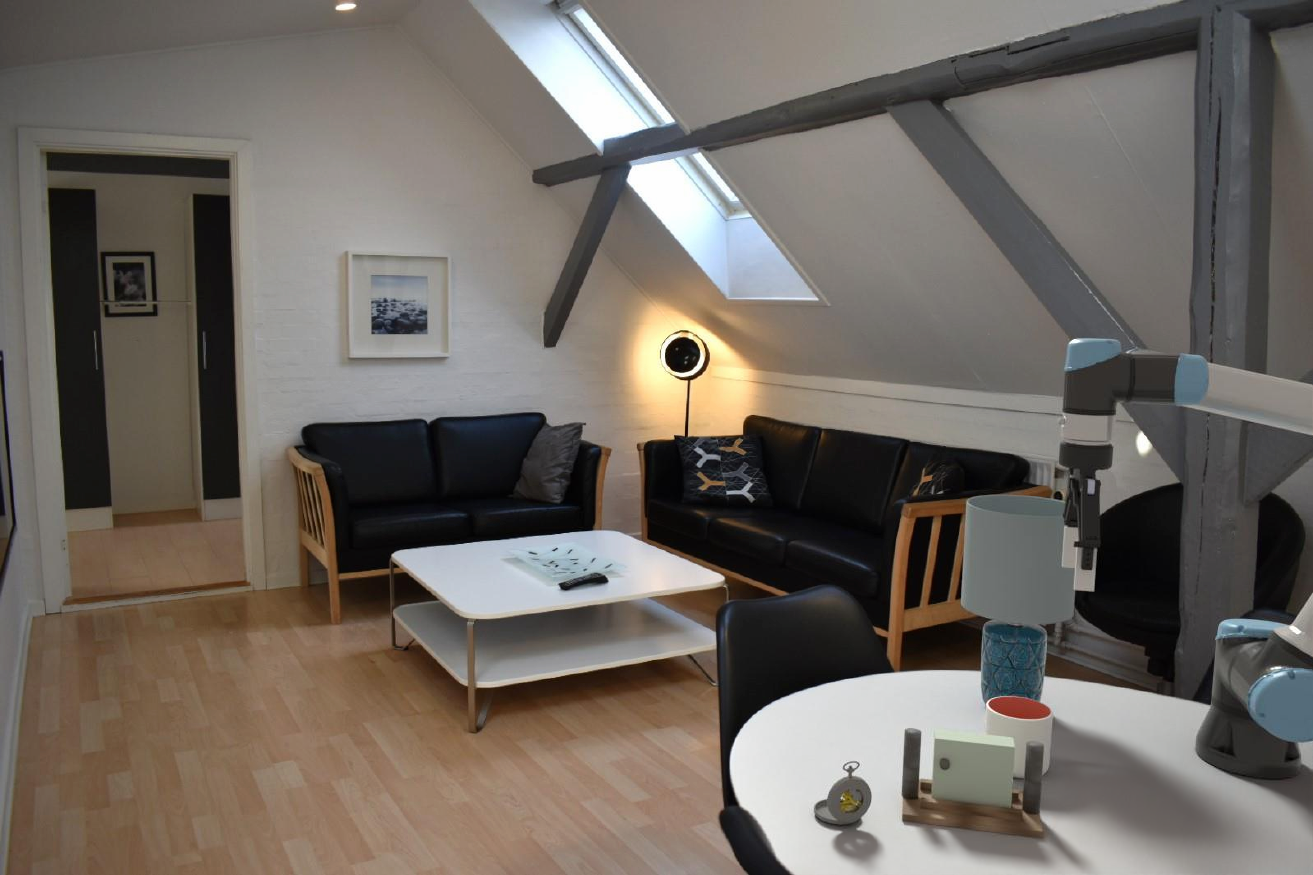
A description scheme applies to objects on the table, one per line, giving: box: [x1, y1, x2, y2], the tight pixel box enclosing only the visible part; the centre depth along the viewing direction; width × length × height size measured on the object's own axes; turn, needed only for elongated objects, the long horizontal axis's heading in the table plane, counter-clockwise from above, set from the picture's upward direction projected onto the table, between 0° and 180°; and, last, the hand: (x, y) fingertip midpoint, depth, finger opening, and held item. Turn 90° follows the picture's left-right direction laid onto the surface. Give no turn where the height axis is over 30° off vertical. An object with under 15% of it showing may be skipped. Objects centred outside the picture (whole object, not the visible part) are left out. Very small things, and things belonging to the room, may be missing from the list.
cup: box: [983, 696, 1054, 779], centre depth 169 cm, size 10×10×10 cm
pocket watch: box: [813, 760, 873, 826], centre depth 151 cm, size 8×8×10 cm
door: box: [931, 728, 1015, 808], centre depth 154 cm, size 11×4×10 cm, turn 76°
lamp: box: [960, 494, 1076, 705], centre depth 192 cm, size 19×19×38 cm
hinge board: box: [901, 727, 1044, 839], centre depth 155 cm, size 19×12×11 cm, turn 76°
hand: (1077, 578), depth 163 cm, fingers open, 13 cm apart
